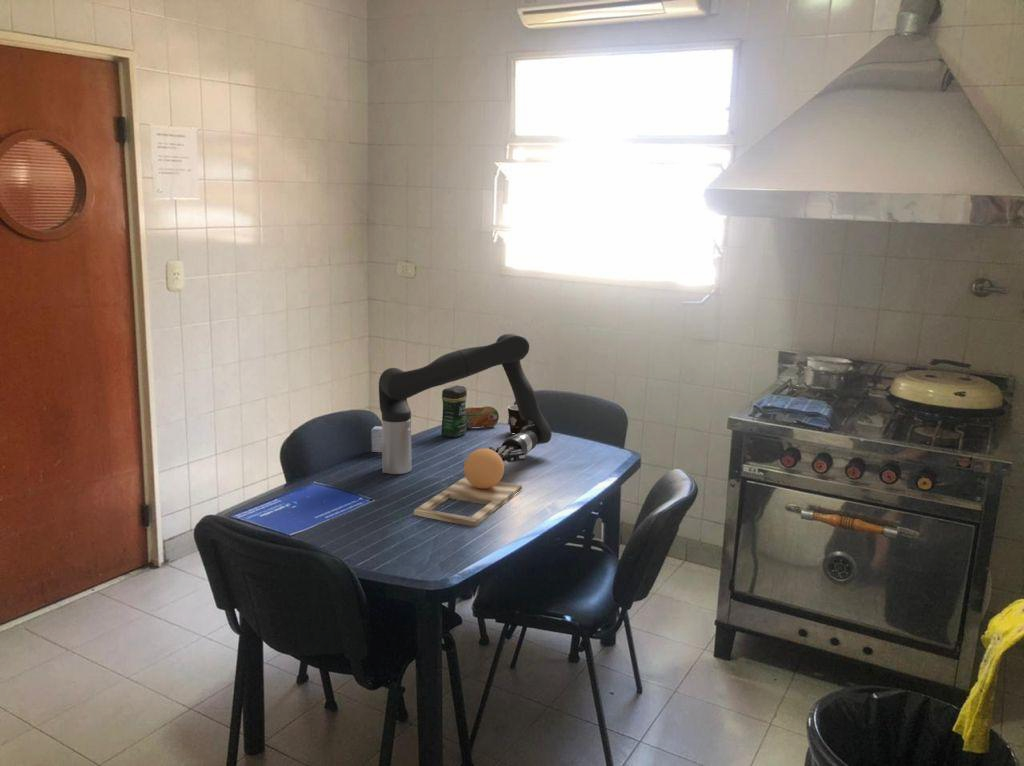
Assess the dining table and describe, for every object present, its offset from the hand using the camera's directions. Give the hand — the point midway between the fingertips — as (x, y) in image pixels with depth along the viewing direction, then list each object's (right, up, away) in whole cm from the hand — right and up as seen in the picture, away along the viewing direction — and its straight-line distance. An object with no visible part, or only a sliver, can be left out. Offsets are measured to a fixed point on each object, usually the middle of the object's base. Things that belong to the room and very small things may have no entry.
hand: (494, 461), depth 248 cm
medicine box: (-39, 0, +32) cm, 51 cm away
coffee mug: (+8, +5, +57) cm, 58 cm away
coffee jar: (-16, +4, +54) cm, 57 cm away
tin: (-7, +7, +65) cm, 66 cm away
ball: (-3, -1, -7) cm, 8 cm away
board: (-7, -11, -13) cm, 18 cm away
